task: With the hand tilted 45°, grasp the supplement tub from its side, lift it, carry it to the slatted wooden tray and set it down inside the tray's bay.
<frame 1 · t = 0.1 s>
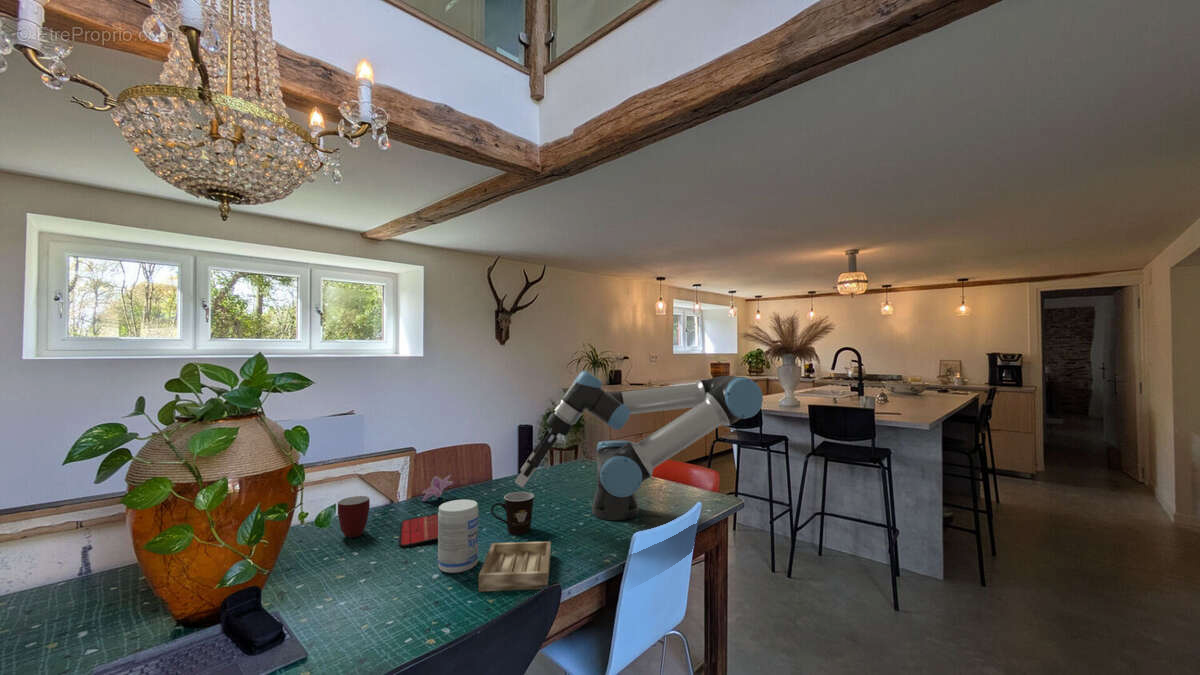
hand: (521, 478, 135), 15 cm above the table, tool tilted 35°, fingers open, 13 cm apart
slatted wooden tray: (517, 571, 110), on the table
supplement tub: (458, 566, 114), on the table
coffee mug: (514, 531, 135), on the table
lily: (438, 502, 162), on the table
red book: (429, 533, 136), on the table
mug: (353, 534, 133), on the table
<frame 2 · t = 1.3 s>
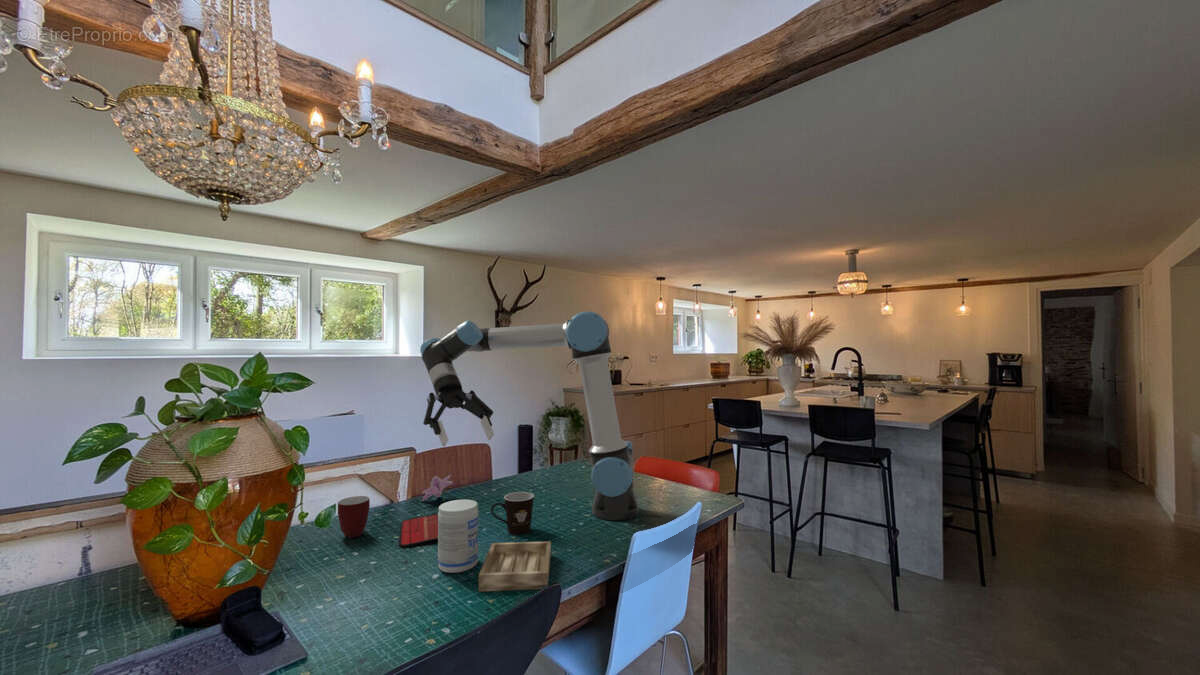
hand: (469, 440, 126), 28 cm above the table, tool tilted 45°, fingers open, 13 cm apart
nothing on the table moved.
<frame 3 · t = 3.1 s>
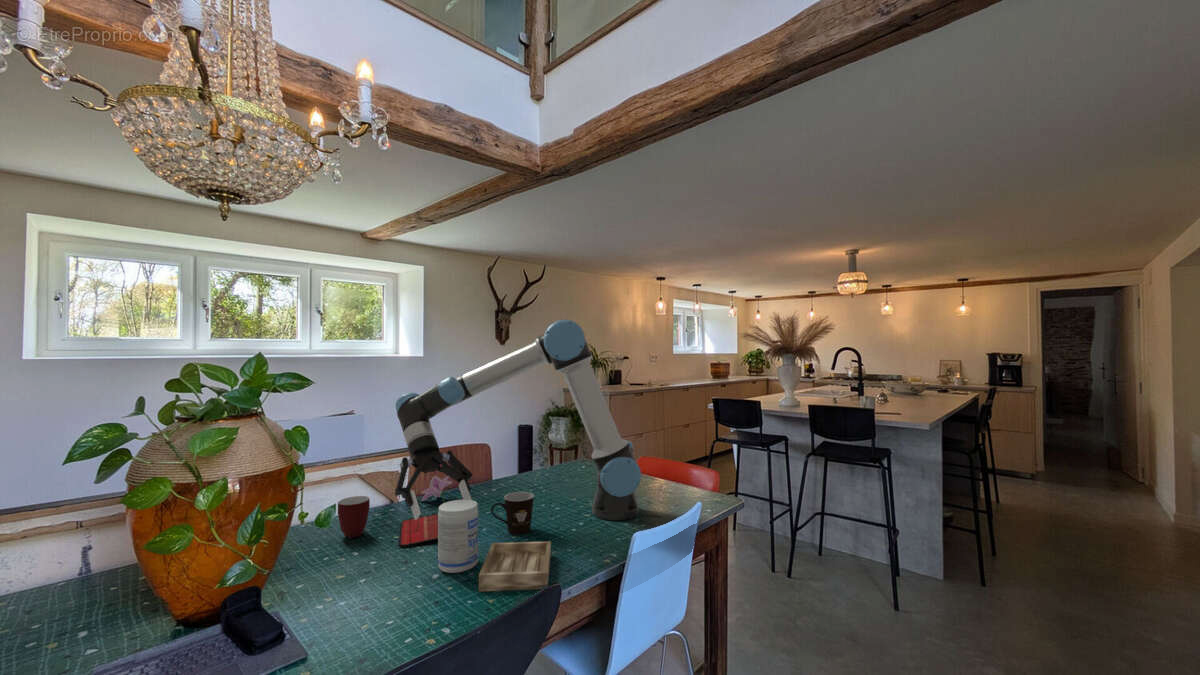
hand: (444, 510, 118), 12 cm above the table, tool tilted 45°, fingers open, 13 cm apart
nothing on the table moved.
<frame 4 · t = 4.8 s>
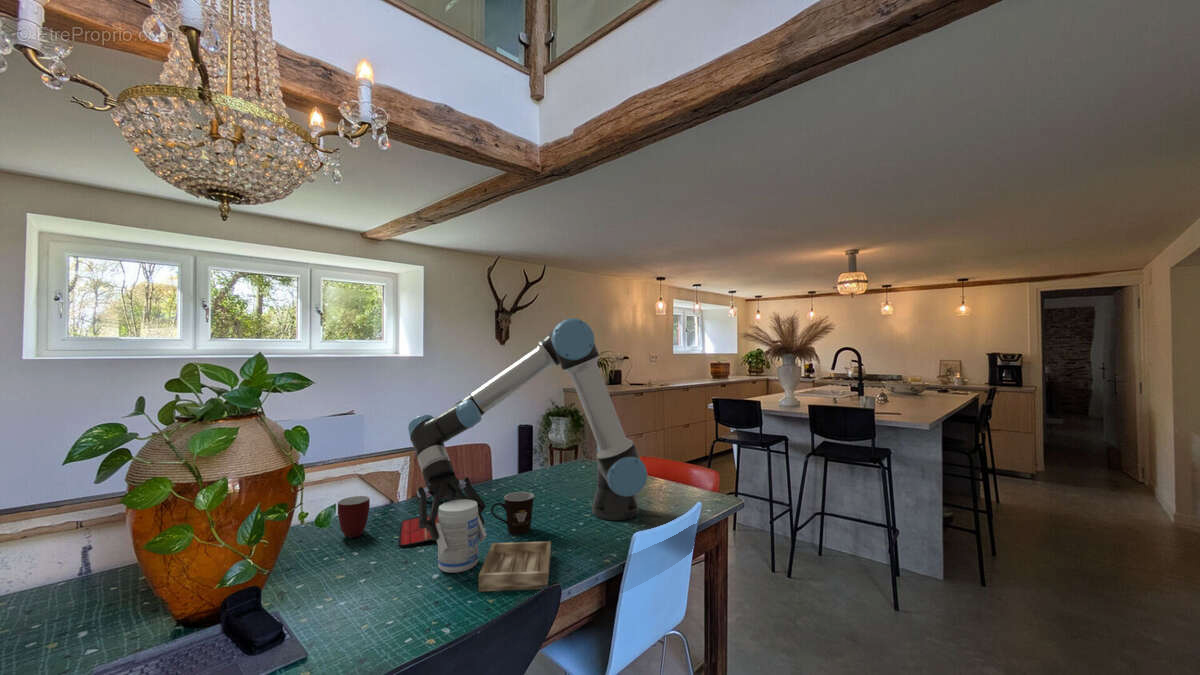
hand: (464, 544, 111), 6 cm above the table, tool tilted 45°, fingers closed on supplement tub, 9 cm apart
supplement tub: (458, 566, 114), on the table, touching gripper
everything else where it was.
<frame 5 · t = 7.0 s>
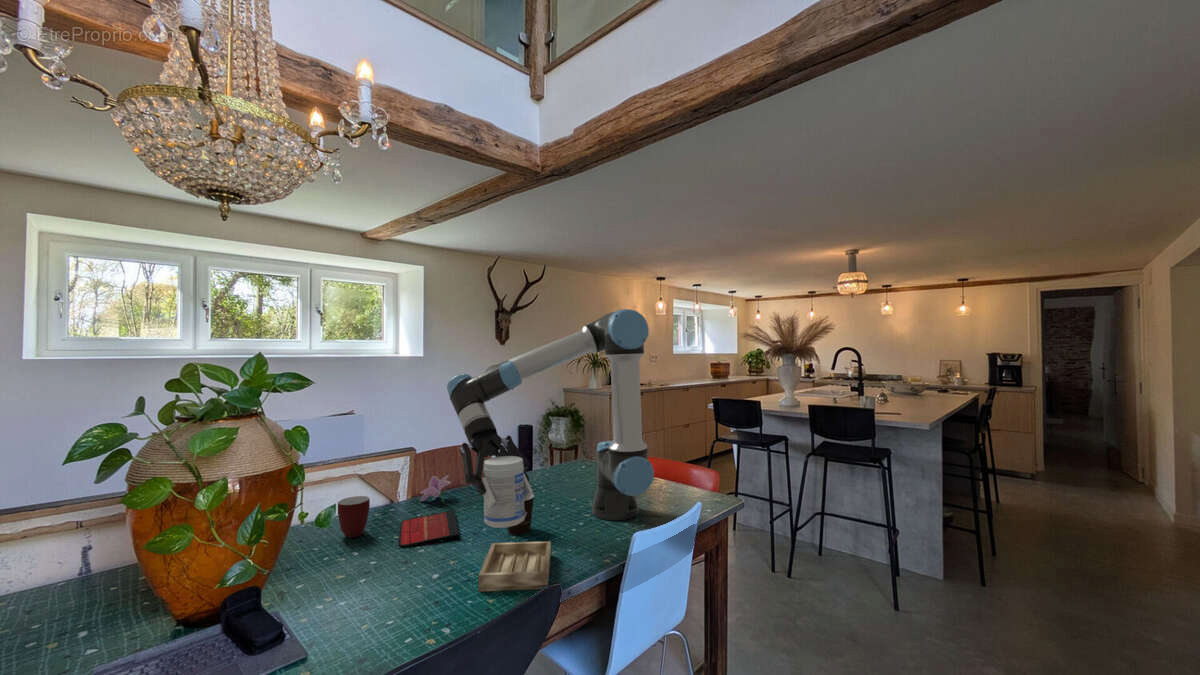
hand: (511, 499, 109), 18 cm above the table, tool tilted 45°, fingers closed on supplement tub, 9 cm apart
supplement tub: (504, 522, 111), point 11 cm above the table, touching gripper
everything else where it was.
when the fingers open (9 cm above the table, at t = 9.5 s): supplement tub drops 1 cm, resting on slatted wooden tray.
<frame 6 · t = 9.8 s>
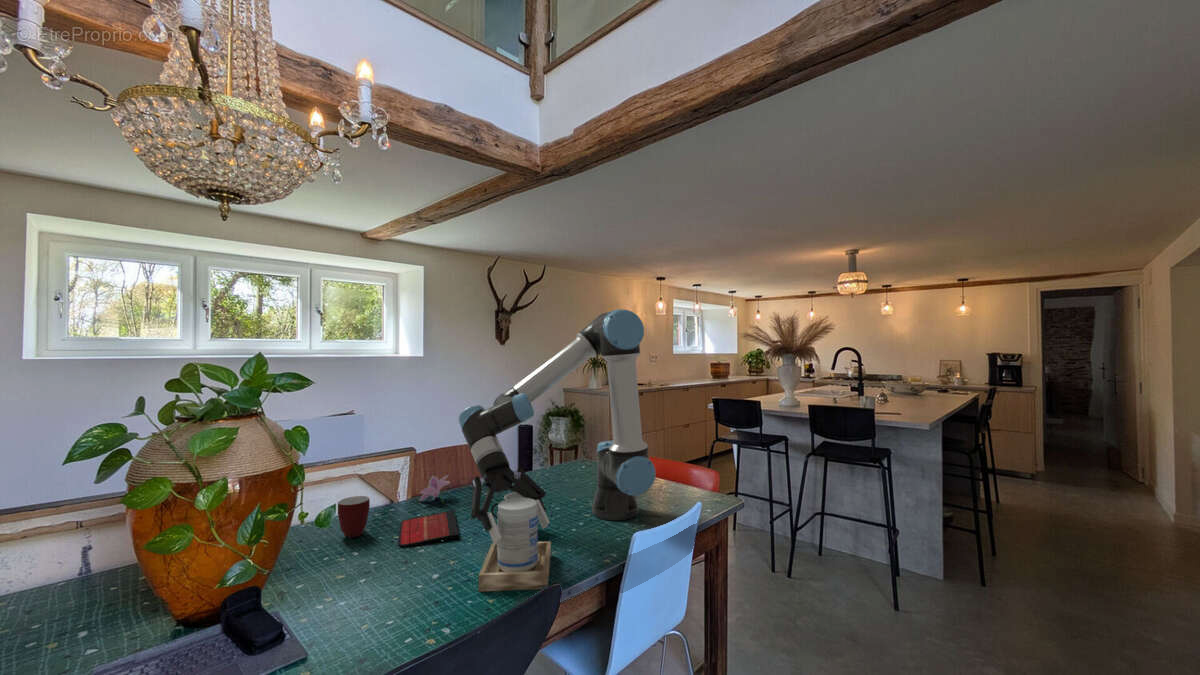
hand: (523, 533, 109), 10 cm above the table, tool tilted 45°, fingers open, 13 cm apart
supplement tub: (517, 566, 110), point 1 cm above the table, touching slatted wooden tray
everything else where it was.
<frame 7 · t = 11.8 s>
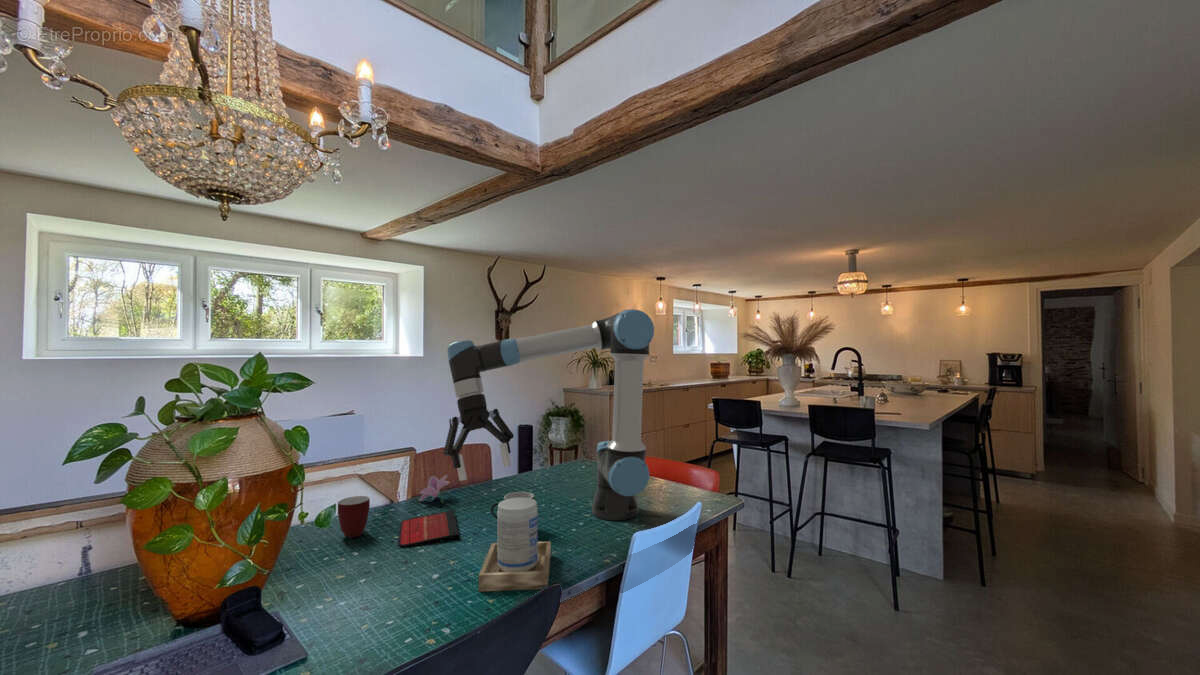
hand: (486, 473, 125), 20 cm above the table, tool tilted 15°, fingers open, 13 cm apart
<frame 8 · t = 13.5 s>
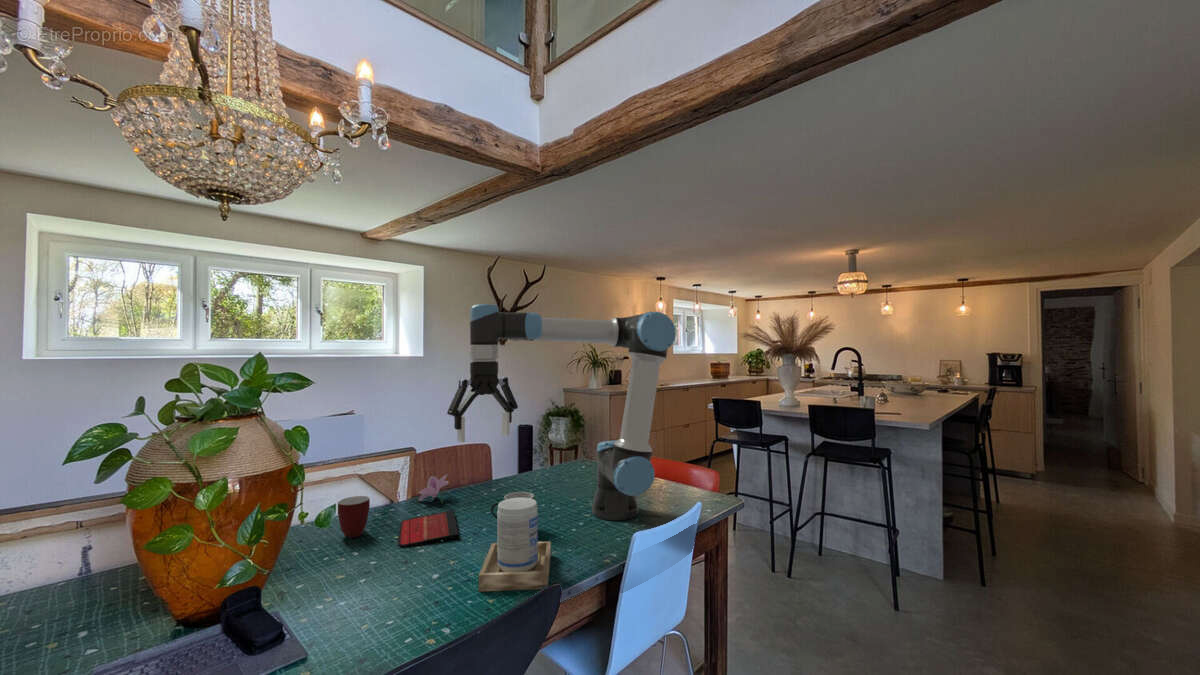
hand: (484, 438, 127), 29 cm above the table, tool pointing down, fingers open, 13 cm apart
at the end: supplement tub inside the target area on the slatted wooden tray (0.1 cm from its centre), point 1.3 cm above the slatted wooden tray's base; supplement tub tilted 0°; the gripper is holding nothing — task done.
